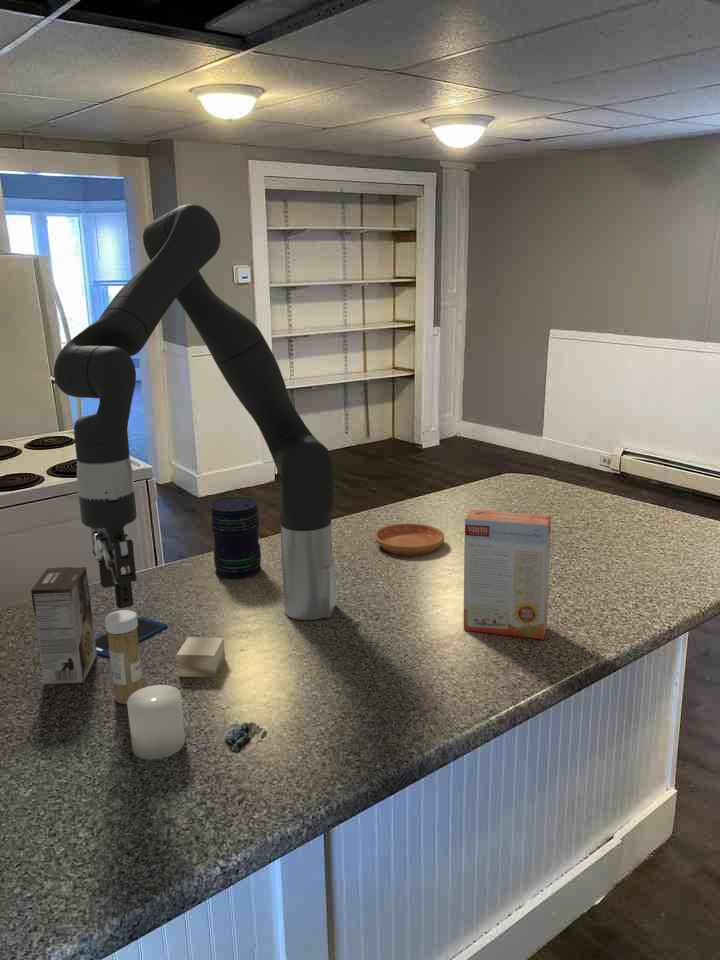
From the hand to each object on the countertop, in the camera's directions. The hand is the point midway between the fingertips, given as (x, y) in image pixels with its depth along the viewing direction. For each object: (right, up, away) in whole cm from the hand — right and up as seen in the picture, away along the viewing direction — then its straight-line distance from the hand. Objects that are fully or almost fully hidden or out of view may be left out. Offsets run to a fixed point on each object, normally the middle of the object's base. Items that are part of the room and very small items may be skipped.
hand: (116, 596), depth 114 cm
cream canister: (+8, -19, -8) cm, 22 cm away
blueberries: (+19, -19, -7) cm, 28 cm away
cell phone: (-6, -11, +24) cm, 27 cm away
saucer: (+47, +1, +66) cm, 81 cm away
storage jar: (+10, -3, +53) cm, 54 cm away
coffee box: (-11, -14, +13) cm, 22 cm away
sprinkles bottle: (+1, -16, +4) cm, 17 cm away
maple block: (+10, -14, +13) cm, 21 cm away
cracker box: (+61, -9, +24) cm, 66 cm away
